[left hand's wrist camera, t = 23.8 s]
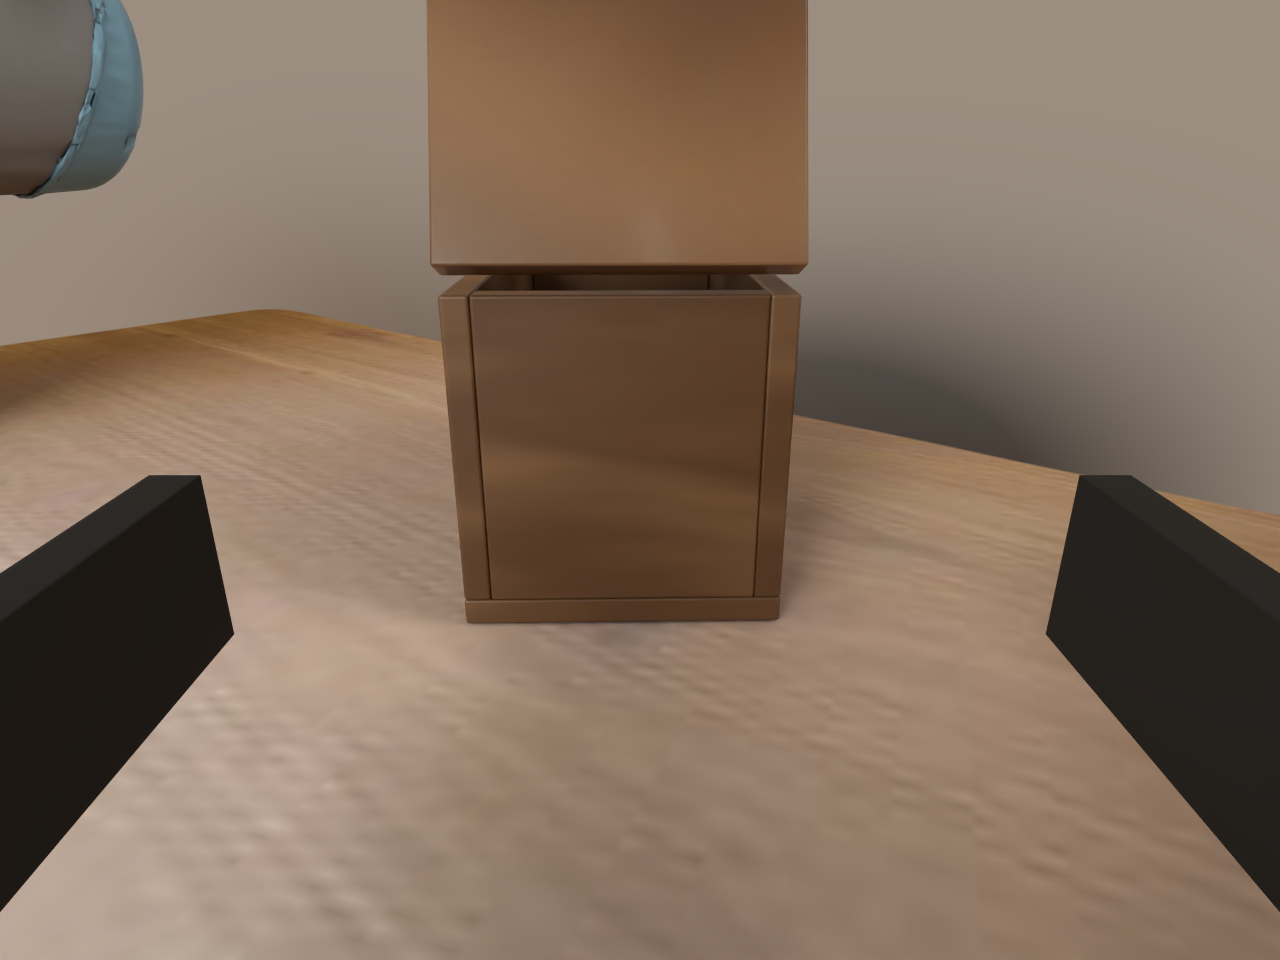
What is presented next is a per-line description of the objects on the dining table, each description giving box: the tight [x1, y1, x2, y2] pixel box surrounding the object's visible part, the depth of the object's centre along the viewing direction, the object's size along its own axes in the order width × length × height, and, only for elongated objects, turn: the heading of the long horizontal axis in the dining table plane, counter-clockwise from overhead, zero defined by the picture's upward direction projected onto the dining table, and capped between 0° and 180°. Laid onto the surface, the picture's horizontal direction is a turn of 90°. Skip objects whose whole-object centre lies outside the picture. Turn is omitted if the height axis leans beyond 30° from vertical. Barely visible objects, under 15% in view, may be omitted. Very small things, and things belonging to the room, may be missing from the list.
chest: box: [438, 274, 801, 623], centre depth 30 cm, size 16×9×10 cm, turn 1°
